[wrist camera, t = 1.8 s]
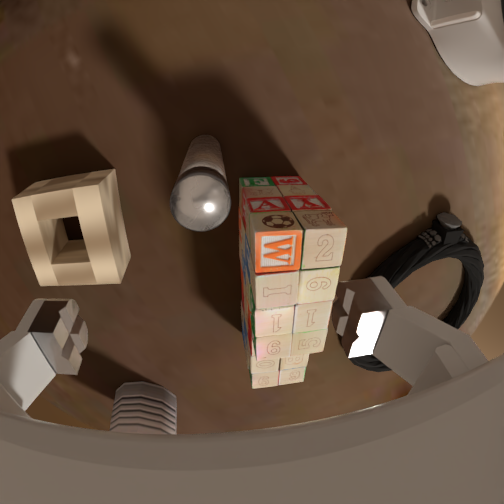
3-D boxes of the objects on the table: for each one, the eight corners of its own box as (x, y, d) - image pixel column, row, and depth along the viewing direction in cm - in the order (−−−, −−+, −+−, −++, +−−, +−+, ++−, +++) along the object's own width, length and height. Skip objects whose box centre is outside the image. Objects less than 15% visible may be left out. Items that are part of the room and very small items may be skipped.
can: (169, 417, 50) (168, 472, 40) (112, 403, 46) (104, 459, 36) (186, 390, 45) (186, 454, 35) (119, 373, 41) (109, 438, 31)
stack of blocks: (286, 328, 40) (309, 403, 30) (241, 333, 40) (253, 411, 29) (299, 174, 29) (350, 227, 19) (237, 175, 29) (255, 232, 18)
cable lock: (332, 391, 45) (370, 230, 30) (326, 374, 48) (355, 215, 33) (453, 353, 48) (511, 219, 32) (445, 340, 51) (496, 208, 35)
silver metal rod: (187, 135, 26) (166, 176, 14) (221, 133, 26) (230, 172, 14) (189, 166, 27) (173, 233, 15) (221, 164, 28) (231, 229, 16)
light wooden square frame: (35, 182, 25) (11, 199, 21) (115, 168, 26) (98, 184, 22) (56, 261, 30) (40, 286, 26) (130, 256, 31) (120, 283, 27)
